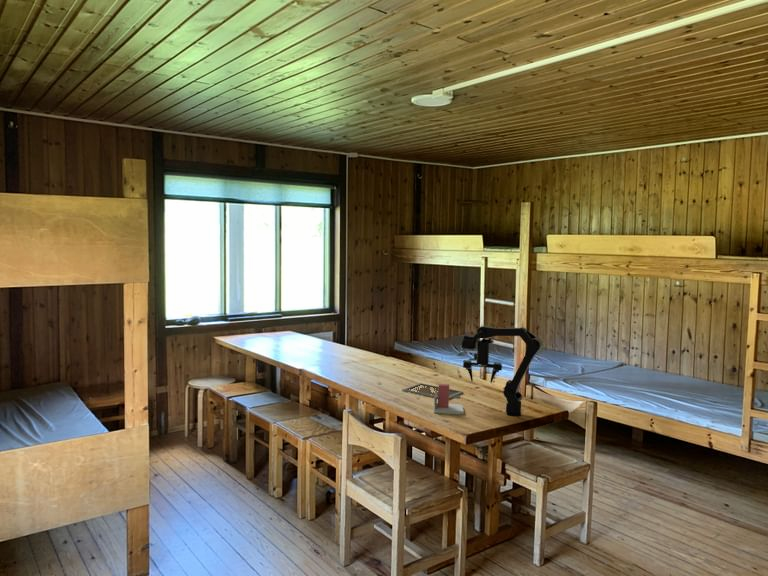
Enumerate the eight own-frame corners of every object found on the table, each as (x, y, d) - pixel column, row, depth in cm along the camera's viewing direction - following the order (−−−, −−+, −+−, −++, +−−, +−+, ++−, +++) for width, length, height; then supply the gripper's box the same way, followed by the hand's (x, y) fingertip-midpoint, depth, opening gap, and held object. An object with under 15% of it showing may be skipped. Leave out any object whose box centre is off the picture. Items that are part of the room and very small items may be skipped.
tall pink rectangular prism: (447, 406, 279) (449, 383, 278) (448, 408, 275) (449, 385, 274) (437, 405, 279) (438, 383, 278) (437, 407, 275) (439, 385, 275)
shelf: (462, 407, 282) (462, 392, 282) (463, 414, 271) (464, 399, 270) (433, 405, 283) (434, 391, 283) (434, 412, 272) (434, 397, 271)
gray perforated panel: (420, 382, 325) (467, 392, 308) (420, 385, 325) (467, 395, 308) (402, 389, 309) (451, 399, 292) (401, 392, 309) (450, 402, 292)
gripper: (501, 349, 286) (500, 380, 288) (464, 347, 289) (462, 377, 291) (502, 353, 276) (500, 385, 277) (463, 351, 278) (462, 382, 280)
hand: (481, 382), depth 281 cm, fingers open, 9 cm apart
